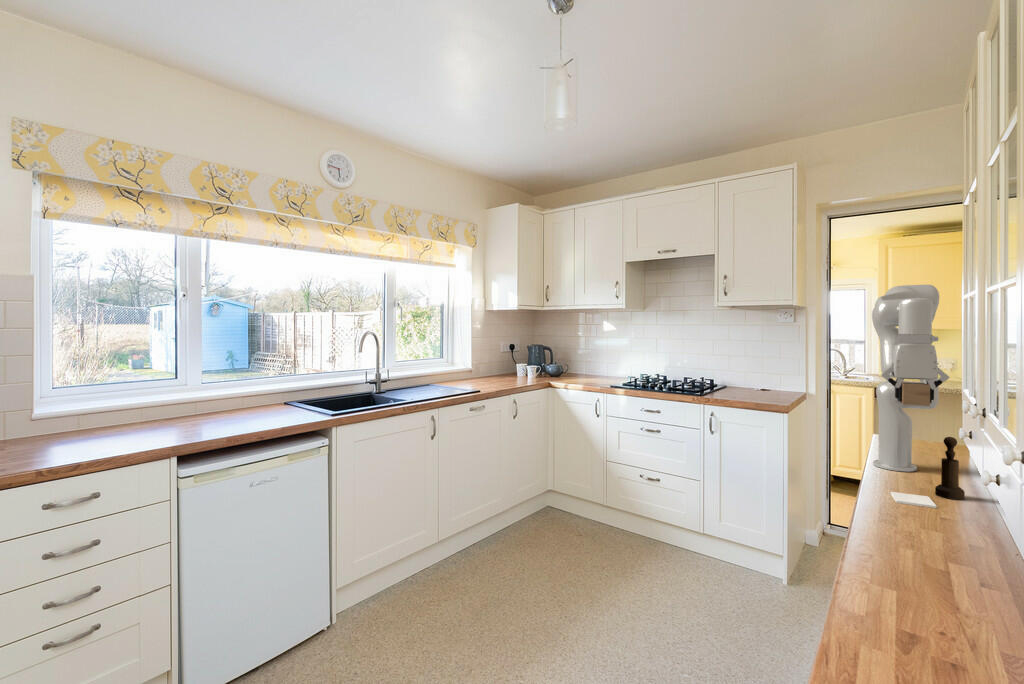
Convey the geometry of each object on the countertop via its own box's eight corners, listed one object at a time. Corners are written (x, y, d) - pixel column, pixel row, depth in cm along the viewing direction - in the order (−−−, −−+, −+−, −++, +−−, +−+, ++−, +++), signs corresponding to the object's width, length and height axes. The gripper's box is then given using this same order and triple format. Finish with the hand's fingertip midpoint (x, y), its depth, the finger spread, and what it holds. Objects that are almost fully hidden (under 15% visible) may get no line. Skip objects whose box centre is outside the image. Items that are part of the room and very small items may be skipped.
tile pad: (890, 493, 149) (890, 491, 149) (928, 498, 144) (928, 496, 144) (896, 502, 141) (896, 500, 141) (936, 508, 137) (936, 506, 136)
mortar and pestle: (952, 493, 149) (953, 435, 149) (970, 500, 143) (971, 439, 142) (929, 492, 150) (930, 434, 149) (946, 499, 143) (947, 439, 143)
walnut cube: (899, 401, 146) (899, 382, 146) (924, 403, 143) (924, 383, 143) (903, 404, 141) (903, 383, 141) (929, 406, 138) (930, 385, 138)
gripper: (949, 340, 141) (948, 402, 141) (876, 340, 149) (875, 398, 150) (957, 340, 134) (956, 405, 134) (880, 340, 143) (879, 401, 143)
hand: (913, 401), depth 142 cm, fingers closed on walnut cube, 6 cm apart
